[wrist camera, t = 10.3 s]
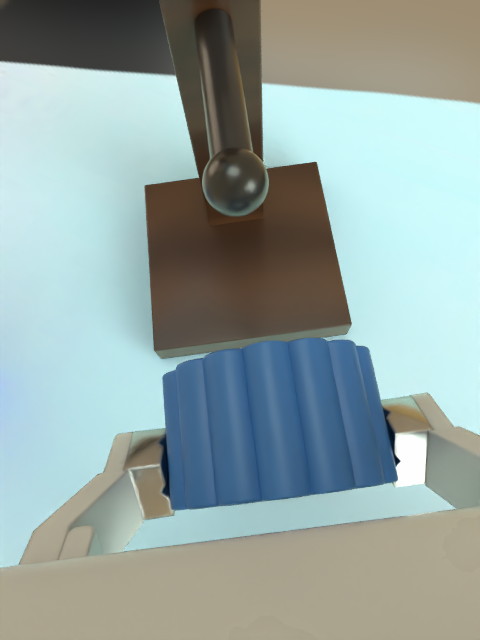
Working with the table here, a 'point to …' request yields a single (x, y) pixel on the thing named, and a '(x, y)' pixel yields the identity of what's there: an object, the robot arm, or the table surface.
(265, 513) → the table surface
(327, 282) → the hook stand
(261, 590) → the robot arm
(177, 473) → the fluted cylinder
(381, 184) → the table surface
